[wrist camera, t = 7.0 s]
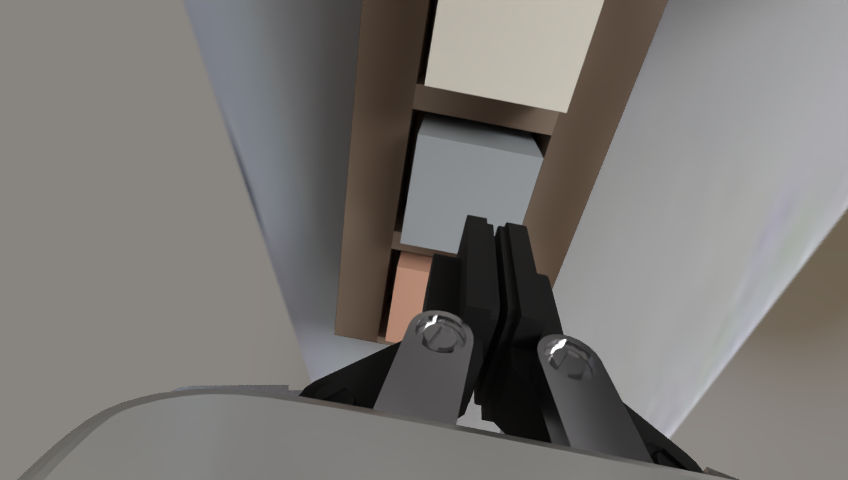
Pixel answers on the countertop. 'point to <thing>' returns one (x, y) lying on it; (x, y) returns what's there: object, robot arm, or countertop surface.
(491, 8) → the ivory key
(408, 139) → the key console
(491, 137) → the slate key
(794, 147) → the countertop surface
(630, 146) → the countertop surface
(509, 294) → the robot arm
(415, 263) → the terracotta key
